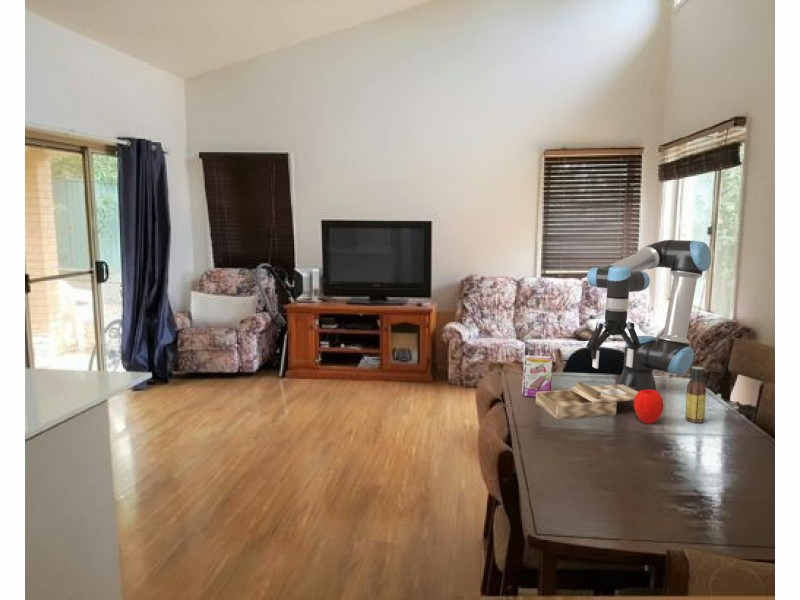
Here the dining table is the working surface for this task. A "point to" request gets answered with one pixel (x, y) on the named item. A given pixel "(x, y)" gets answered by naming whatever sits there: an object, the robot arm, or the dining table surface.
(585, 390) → the lid
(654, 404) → the apple
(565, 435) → the dining table surface
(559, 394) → the wooden box
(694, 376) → the sauce bottle
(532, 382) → the candy bar box
